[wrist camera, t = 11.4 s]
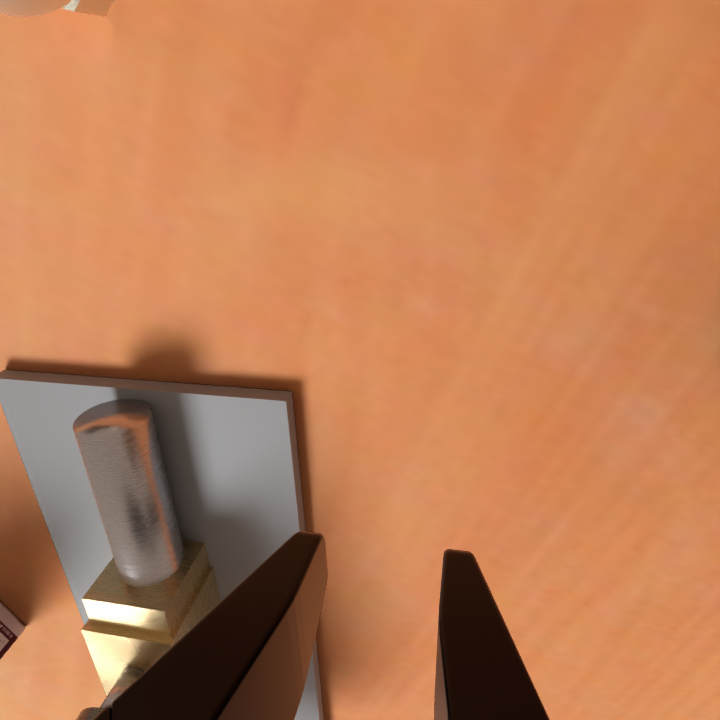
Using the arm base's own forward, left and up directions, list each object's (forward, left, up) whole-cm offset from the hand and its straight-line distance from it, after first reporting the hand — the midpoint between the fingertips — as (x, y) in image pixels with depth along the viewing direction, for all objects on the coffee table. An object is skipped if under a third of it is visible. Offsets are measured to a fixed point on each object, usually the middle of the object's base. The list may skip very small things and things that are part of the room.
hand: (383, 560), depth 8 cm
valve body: (+13, +18, -13) cm, 26 cm away
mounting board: (+13, +18, -13) cm, 26 cm away
